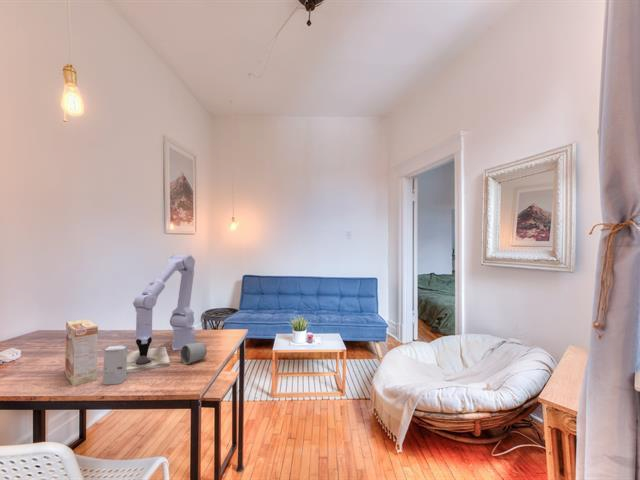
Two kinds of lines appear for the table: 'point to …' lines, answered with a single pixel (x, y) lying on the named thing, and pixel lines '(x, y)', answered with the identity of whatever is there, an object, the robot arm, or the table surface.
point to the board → (155, 360)
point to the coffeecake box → (81, 351)
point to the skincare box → (115, 364)
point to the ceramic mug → (193, 352)
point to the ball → (142, 360)
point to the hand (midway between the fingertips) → (143, 356)
